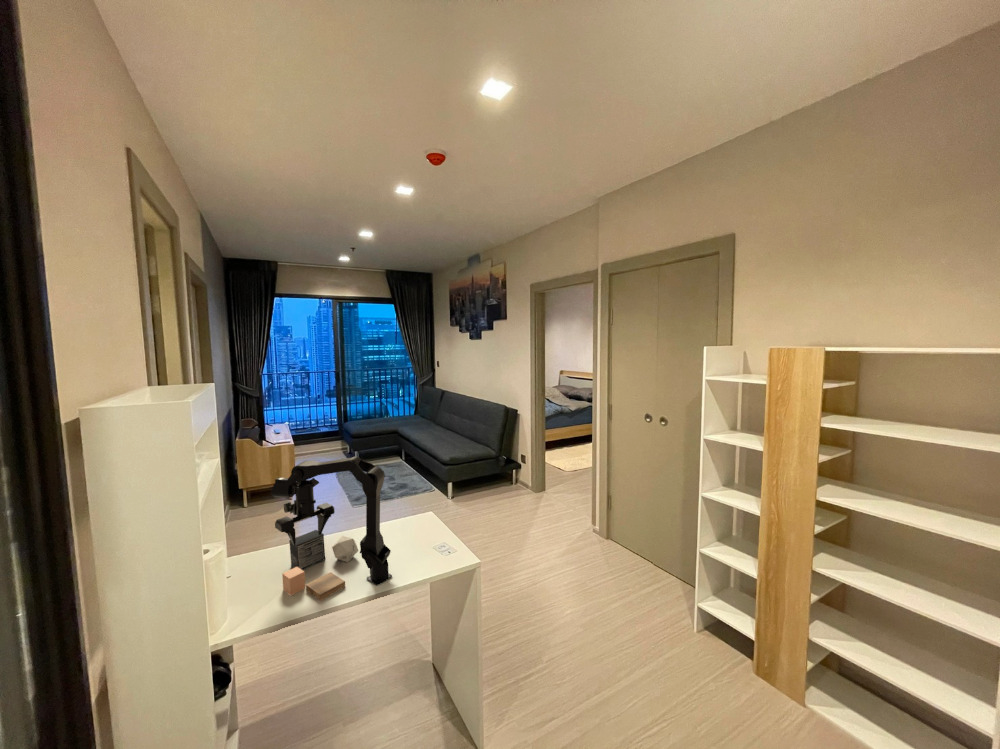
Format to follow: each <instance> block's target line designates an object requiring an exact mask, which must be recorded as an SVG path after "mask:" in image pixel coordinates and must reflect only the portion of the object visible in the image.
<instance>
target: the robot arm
mask: <svg viewBox="0 0 1000 749" xmlns="http://www.w3.org/2000/svg"><path fill="white" fill-rule="evenodd" d="M290 471H291V473H290V475H289V476H288V477H281V476H280V477H277V478H275V479H274V483H273V485H272V489H271V495H272V497H274V498H284V499H287V498H288V499H289V498H293V497H294V496H295V500H294V501H293V503H292V502H286V503H283V511H284V513H285V514H286V513H290V514H293V516H295V517H288V516H286V515H285V516H284V517H281V518H278V519H276V521H275V522H274V528H275V529H276V530H277V531H279V532H280V533H285V534H287V536H288V539H289V540H291V542H292V544H293V545H295V543H296V529H295V524H296V523H300V522H303V521H305V520H308V519H310V518H314V517H317V530H318V534H319V535H321V533H323V532H324V531H323V530H324V528H325V526H326V524H327V522H328V521H329V519H330V518H331V517H332V515H335V507H334V506H333V505H332V504H330V503H328V502H324V503H322V504H318V505H317V506H316V509H315V504H316V499H315V498H314V497H315V496H314V494H315V493H314V487H316V486H317V485H319V484H320V481H318V480H317V479H315V477H317V476H322V475H329V474H335V473H342V472H350V473H351V474H352V475H353V477H354V479H355V480H357V482H359V483H360V484H361V486H362V491H363V493H364V495H365V497H366V498H365V499H366V502H365V504H366V507H365V509H366V511H365V515H366V516H365V519H366V520H365V522H366V526H365V527H366V528H365V529H366V531H365V533H366V534H365V535H364V537H363V538H362V539H361V540H360V542H359V547H360V551H359V554H360V556H361V559H363V560H364V562H365V564H366V566H367V569H369V576H367V577H366V580H367V581H368V582H371V583H372V584H374V585H376V586H380V585H381V584H383V583H385V582H386V581H388V580H390V579H391V578H392V577H393V574H391V573H389V561H388V558H389V556H390V555H391V553H392V551H391V549H390V548H389V547H388V546H387V545H386V544H385V543H384V542H385V541H384V537H383V535H382V533H381V531H380V530H381V529H380V528H381V523H380V522H381V521H380V520H381V516H380V515H381V492H382V488H383V486H384V482H385V477H386V476H385V471H384V470H383V469H382V468H381V467H378V466H376V465H374V464H373V463H371V462H368V461H365V460H363V459H362V458H360V457H359V456H353V457H347V458H341V459H339V458H338V459H334V460H327V461H317V460H303V461H302V462H300V463H298V464H296V465H295V466H293V467H292V469H291V470H290ZM365 472H366V473H365Z"/></svg>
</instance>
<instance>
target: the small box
mask: <svg viewBox="0 0 1000 749" xmlns="http://www.w3.org/2000/svg"><path fill="white" fill-rule="evenodd" d="M324 537H325V536H324V533H323V532H322V533H321V535H319V534H318V529H314V530H312V531H309V532H307V533H304V534H301V535H299V536H297V537H296V536H295V538H296V543H295V545H293V544H292V542H291V540H290V539H289V541H288V542H289V543H288V544H289V552H290V567H292V569H293V568H295V567H298V568H300V569H301V570H303V571H304V570H306V569H307V568H309V567H312V566H314V565H316V564H319V563H320V562H323V561H325V560H326V558H327V557H326V552H325V550H326V549H325V538H324Z"/></svg>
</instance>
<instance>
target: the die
mask: <svg viewBox="0 0 1000 749" xmlns="http://www.w3.org/2000/svg"><path fill="white" fill-rule="evenodd" d="M331 548H332V552H333V554H334V558H335V559H336V560H340V561H343V562H345V563H349V562H350V560H352V559H353V557H354V556H355V555H356V554H357V553H358V552H359V549H358V545H357V543H356V541H355V539H354V538H353V537H352V538H351V537H348V536H345V535H342V536H341V537H340V538H339V539H338V540H337V541H336V543H334V545H333V546H331Z"/></svg>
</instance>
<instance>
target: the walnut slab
mask: <svg viewBox="0 0 1000 749" xmlns="http://www.w3.org/2000/svg"><path fill="white" fill-rule="evenodd" d="M345 587H346V581H345V580H344V579H342V578H341V577H339V576H338V575H336V574H334V573H333V572H332V571H330V572H328V573H326V574H324V575H322V576H319V577H318V578H316V579H315V580H312V581H311V582H307V583H305V590H306V592H308V593H309V594H311V595H312V596H314V597H315V598H316V599H317V600H319V601H322V600H323V601H324V599H326V598H328V597H330V596H332V595H334V594H335V593H337V592H339V591H341V590H342V589H344V588H345Z"/></svg>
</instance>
